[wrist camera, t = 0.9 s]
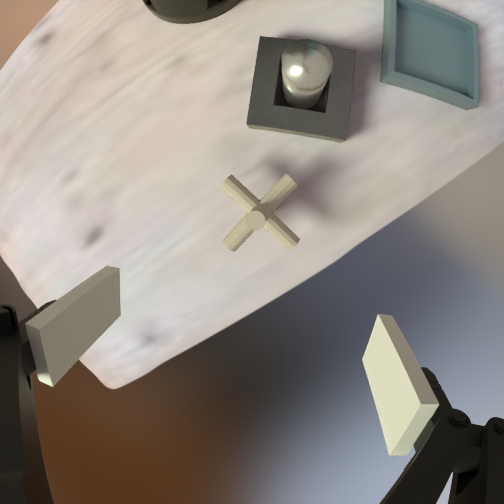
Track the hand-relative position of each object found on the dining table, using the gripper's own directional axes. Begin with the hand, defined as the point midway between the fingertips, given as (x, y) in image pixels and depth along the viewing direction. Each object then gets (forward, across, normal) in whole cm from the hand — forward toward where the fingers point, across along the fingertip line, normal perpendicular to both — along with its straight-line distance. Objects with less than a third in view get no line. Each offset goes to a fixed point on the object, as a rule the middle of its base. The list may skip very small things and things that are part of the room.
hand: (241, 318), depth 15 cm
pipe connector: (+26, -1, +1) cm, 26 cm away
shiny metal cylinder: (+26, +1, +16) cm, 31 cm away
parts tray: (+26, +17, +26) cm, 41 cm away
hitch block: (+26, +1, +16) cm, 31 cm away
